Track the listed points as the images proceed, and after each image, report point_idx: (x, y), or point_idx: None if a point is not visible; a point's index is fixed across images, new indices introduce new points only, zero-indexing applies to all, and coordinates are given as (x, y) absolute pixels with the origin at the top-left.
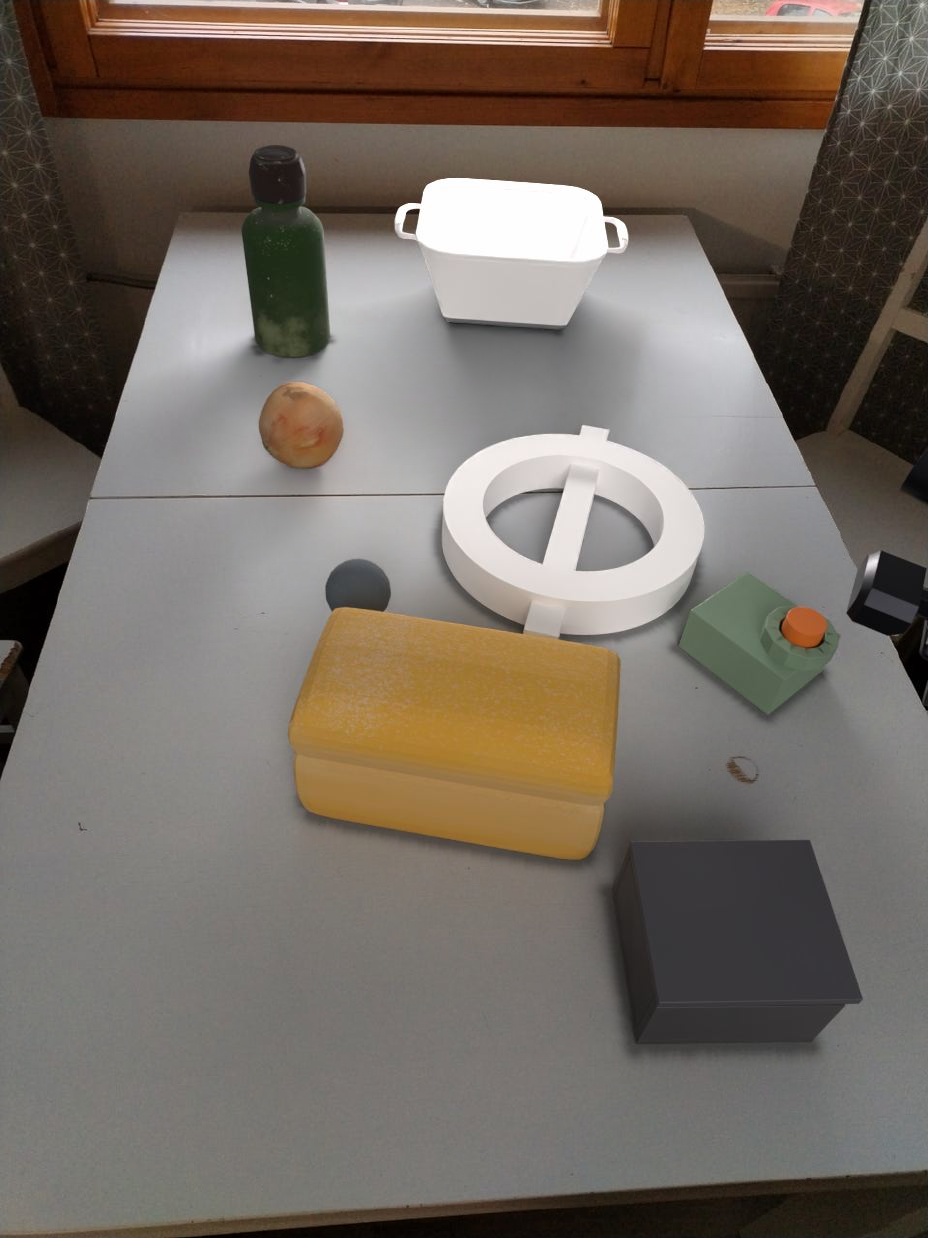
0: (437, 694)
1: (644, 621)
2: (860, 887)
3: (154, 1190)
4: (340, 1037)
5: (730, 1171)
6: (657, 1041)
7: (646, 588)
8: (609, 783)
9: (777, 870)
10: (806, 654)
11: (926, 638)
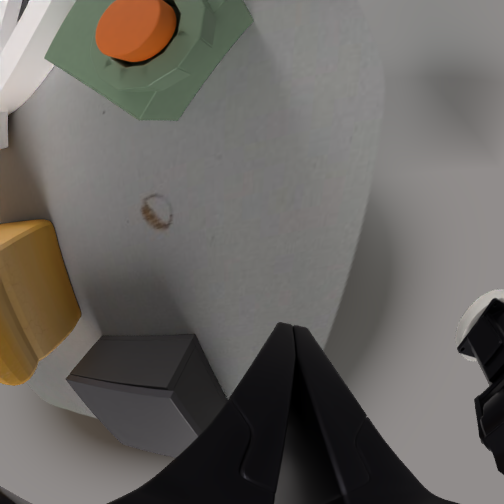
0: None
1: None
2: (276, 324)
3: (56, 403)
4: (58, 380)
5: None
6: None
7: (19, 53)
8: (22, 383)
9: (152, 412)
10: (143, 79)
11: None
